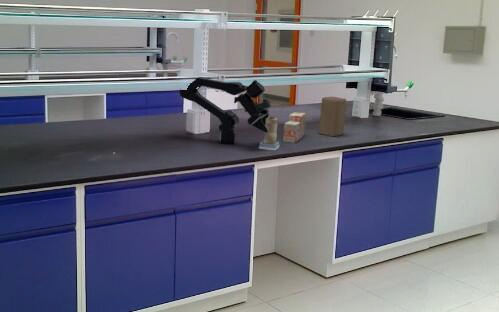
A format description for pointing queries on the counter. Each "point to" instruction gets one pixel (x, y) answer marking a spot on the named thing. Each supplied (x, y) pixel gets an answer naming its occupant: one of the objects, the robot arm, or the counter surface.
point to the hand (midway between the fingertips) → (269, 130)
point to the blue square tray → (269, 146)
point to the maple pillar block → (271, 130)
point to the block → (332, 116)
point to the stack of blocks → (294, 127)
